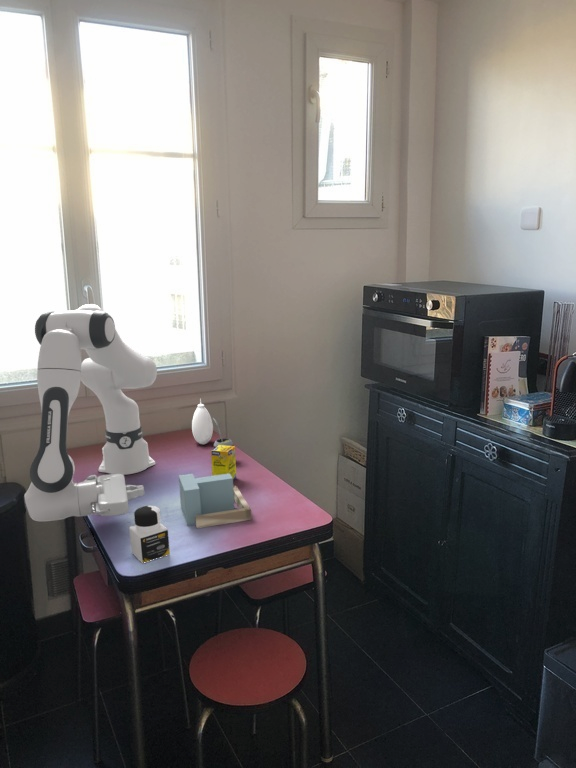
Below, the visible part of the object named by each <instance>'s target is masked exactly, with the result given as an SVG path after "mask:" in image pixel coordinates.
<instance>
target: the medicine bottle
mask: <svg viewBox="0 0 576 768" xmlns="http://www.w3.org/2000/svg"><path fill="white" fill-rule="evenodd" d="M133 515H134V525H130V526H129V537H130V538H129V539H130V549H131V550H130V551H131V554H132V553H133V554H134V555H133V554H132V555H133V556H134V557H135V558H137V560H139V562H141V563H142V562H143V563H144V562H147V561H150V560H153V559H156V558H159V559H161V558H160V557H162V558H164V557H163V556H165V557H167V556H166V555H168V556H170V554H171V553H170V540H169V529H168V528H167V527H166V526H164V524H162V523H161V511H160V508H159V507H157V506H155V505H145V506H141V507H139V508H137V509H135V511H134V512H133ZM156 560H157V559H156ZM153 561H154V560H153ZM150 562H151V561H150ZM143 563H142V564H143ZM147 563H148V562H147ZM144 564H145V563H144Z"/></svg>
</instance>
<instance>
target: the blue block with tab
mask: <svg viewBox="0 0 576 768" xmlns="http://www.w3.org/2000/svg"><path fill="white" fill-rule="evenodd" d="M178 482H179V483H178V487H179V496H180V497H179V498H180V509H181V511H182V515H183V518H184V520H185V523H186V526H191V525H196V520H195V516H197V515H203V514H210V513H216V512H222V511H229V510H235V509H236V508H235V500H234V491H233V486H234V480H233V478H232V476H231V475H230V473H229V474H222V475H215V476H212V475H208V476H202V477H195V476H194V473H192V472H191V473H186V474H179V475H178Z"/></svg>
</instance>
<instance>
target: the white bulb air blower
mask: <svg viewBox="0 0 576 768" xmlns="http://www.w3.org/2000/svg"><path fill="white" fill-rule="evenodd" d="M191 430H192V431H191V433H192V435H193V437H194V440H195V441H196V442H197V443H198V444H200V445H203V446H205V445H206V444H209V442H210V441H211V439H212V437H213V434H214V433H213V431H214V424H213V418H212V417H211V414H210V412H209V411H208V409H207V408H206V407H205V404H203V403H202V398H201V397H200V398H199V404H197V407H196V409H195V411H194V413H193V416H192V420H191Z"/></svg>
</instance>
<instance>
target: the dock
mask: <svg viewBox="0 0 576 768" xmlns="http://www.w3.org/2000/svg"><path fill="white" fill-rule="evenodd" d="M233 491H234V503H235V504H236V506H237V507H238V508H237V509H236V508H234V509H235V510H229V511H222V512H216V513H210V514H203V515H197V516H195V520H196V524H195V528H196V529H203V528H208V527H212V526H213V527H215V526H220V525H226V524H232V523H239V522H245V521H251V520H252V509H251V507H250V506H249V504H248V502H247V501H246V499H245V498H244V496H243V494H242V493H241V491H240V489H239V488H238V486H237V485H233Z"/></svg>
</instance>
